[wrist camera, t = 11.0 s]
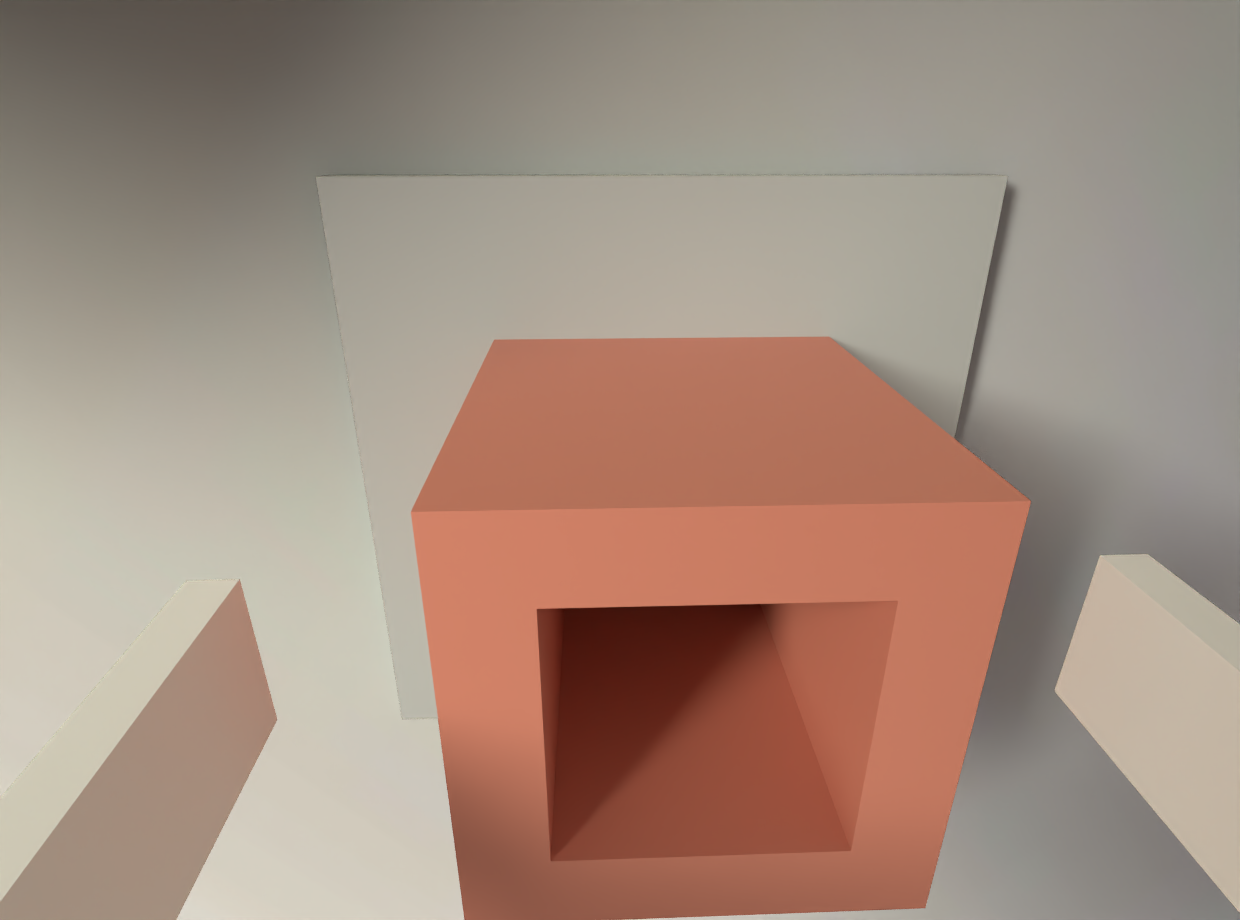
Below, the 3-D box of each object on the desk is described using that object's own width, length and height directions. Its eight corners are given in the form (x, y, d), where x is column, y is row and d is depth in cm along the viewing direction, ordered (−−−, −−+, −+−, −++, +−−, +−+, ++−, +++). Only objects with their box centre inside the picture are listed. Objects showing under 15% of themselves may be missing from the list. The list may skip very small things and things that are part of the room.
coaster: (406, 704, 20) (401, 719, 20) (325, 175, 15) (315, 176, 14) (892, 691, 21) (900, 705, 20) (992, 174, 15) (1008, 176, 15)
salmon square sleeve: (514, 619, 19) (465, 924, 11) (494, 339, 16) (411, 511, 8) (795, 612, 19) (924, 907, 12) (828, 336, 16) (1031, 500, 9)
